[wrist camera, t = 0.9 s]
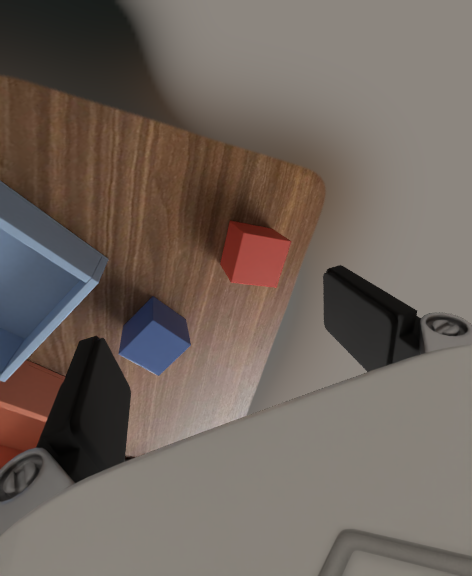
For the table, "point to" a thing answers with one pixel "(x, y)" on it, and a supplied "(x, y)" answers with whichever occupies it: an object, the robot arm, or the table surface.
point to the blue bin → (38, 277)
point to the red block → (254, 254)
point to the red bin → (25, 408)
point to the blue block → (154, 337)
